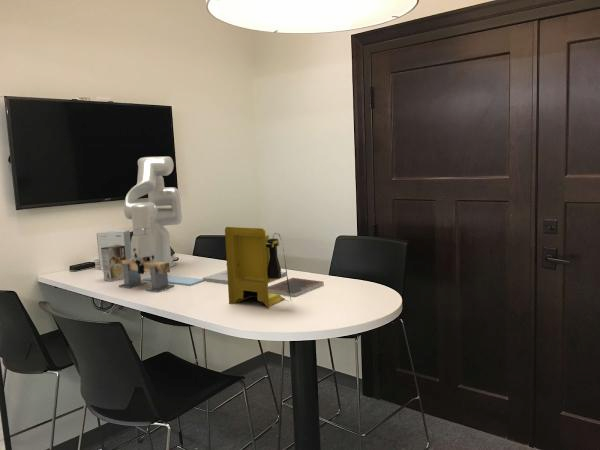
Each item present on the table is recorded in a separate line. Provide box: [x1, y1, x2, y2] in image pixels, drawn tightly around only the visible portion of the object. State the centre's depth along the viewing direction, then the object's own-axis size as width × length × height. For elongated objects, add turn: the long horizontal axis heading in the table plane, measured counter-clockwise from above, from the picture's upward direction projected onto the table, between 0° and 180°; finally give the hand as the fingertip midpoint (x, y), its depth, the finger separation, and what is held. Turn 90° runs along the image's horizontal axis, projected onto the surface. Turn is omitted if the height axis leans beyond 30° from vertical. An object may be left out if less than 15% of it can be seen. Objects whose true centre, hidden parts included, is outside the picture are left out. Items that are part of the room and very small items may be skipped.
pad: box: [142, 274, 204, 287], centre depth 235 cm, size 10×30×1 cm, turn 60°
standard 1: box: [118, 264, 148, 289], centre depth 228 cm, size 10×7×10 cm
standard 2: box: [145, 266, 175, 293], centre depth 220 cm, size 10×7×10 cm
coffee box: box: [101, 245, 126, 282], centre depth 242 cm, size 9×6×16 cm
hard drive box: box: [96, 230, 132, 269], centre depth 269 cm, size 16×8×20 cm, turn 84°
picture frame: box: [268, 277, 324, 298], centre depth 212 cm, size 16×2×22 cm
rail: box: [121, 259, 171, 274], centre depth 224 cm, size 4×26×4 cm, turn 60°
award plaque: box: [202, 269, 287, 285], centre depth 234 cm, size 25×30×2 cm
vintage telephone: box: [224, 226, 292, 310], centre depth 191 cm, size 31×14×30 cm, turn 59°
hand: (145, 272), depth 224 cm, fingers closed on rail, 4 cm apart
